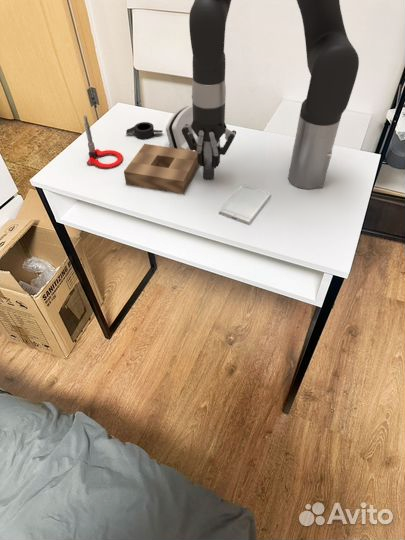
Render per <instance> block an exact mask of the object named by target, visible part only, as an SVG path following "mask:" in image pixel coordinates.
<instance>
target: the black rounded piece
mask: <svg viewBox="0 0 405 540" xmlns="http://www.w3.org/2000/svg"><path fill="white" fill-rule="evenodd" d="M154 127H155V126H154V124H153V123H152V122H147V121H143V122H138V123H136V124H135V125H134V126H132V127H130V128H127V129H126V133H125V134H126V135H130V134H134V135H135V138H136V139H138V140H140V141H141V140H143V141H145V140H150V139H152V138H154V137H155V133H158V134H159V133H163V130H159V129H154Z"/></svg>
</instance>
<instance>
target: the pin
mask: <svg viewBox="0 0 405 540" xmlns="http://www.w3.org/2000/svg"><path fill="white" fill-rule="evenodd" d="M213 155H214V153H213V148H212V145H211V142H208V141H203V166H202V173H203V174H202V178H203V180H205V181H208V182H209V181H213V180H214V179H215V168H213Z"/></svg>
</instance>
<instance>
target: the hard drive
mask: <svg viewBox="0 0 405 540" xmlns="http://www.w3.org/2000/svg"><path fill="white" fill-rule="evenodd" d="M271 197H272V194H271V193H270V192H268V191H264V190H260V189H258V188H255V187H252V186H249V185H246V184H242V185H240V187H239V188H238V189H237V190H236V191H235V193H234V194H233V195H232V196H231V197H230V198H229V199H228V201H227V202H226V203H225V204H224V205H223V206H222V207H221V209H220V210H219V211H218V215H221V216H222V217H226V218H228V219H231V220H234V221H236V222H239V223H242V224H244V225H247V226H250V225H251V224H252V223H253V221H254V220H255V219H256V217H257V216H258V215H259V214H260V212H261V211H262V210H263V208H264V207H265V205H266V204H267V203H268V201H270V199H271Z"/></svg>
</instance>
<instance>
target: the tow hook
mask: <svg viewBox="0 0 405 540" xmlns="http://www.w3.org/2000/svg"><path fill="white" fill-rule="evenodd" d="M83 120H84V128H85V133H86V138H87V142H88V143H87V147H88V151H89V152H88V160H87V162H86V165H87V166H89V167H92V166H95V168H98V169H103V170H112V169H115V168H118V167H120V166H121V165H122V164H123V162H124V156H123V154H122V153H121V152H119V151H117V150H112V149H108V150H107V149H106V150H100V149H98V148H96V147H95V143H94V142H93V137H92V131H91V127H90V123H89V121H88V116H87V115H83ZM105 156H112V157H113V156H114V157H116V158H117V160H115V161H114V162H111V163H103V162H101V161H100V160H99V159H98V158H102V157H105Z"/></svg>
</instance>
